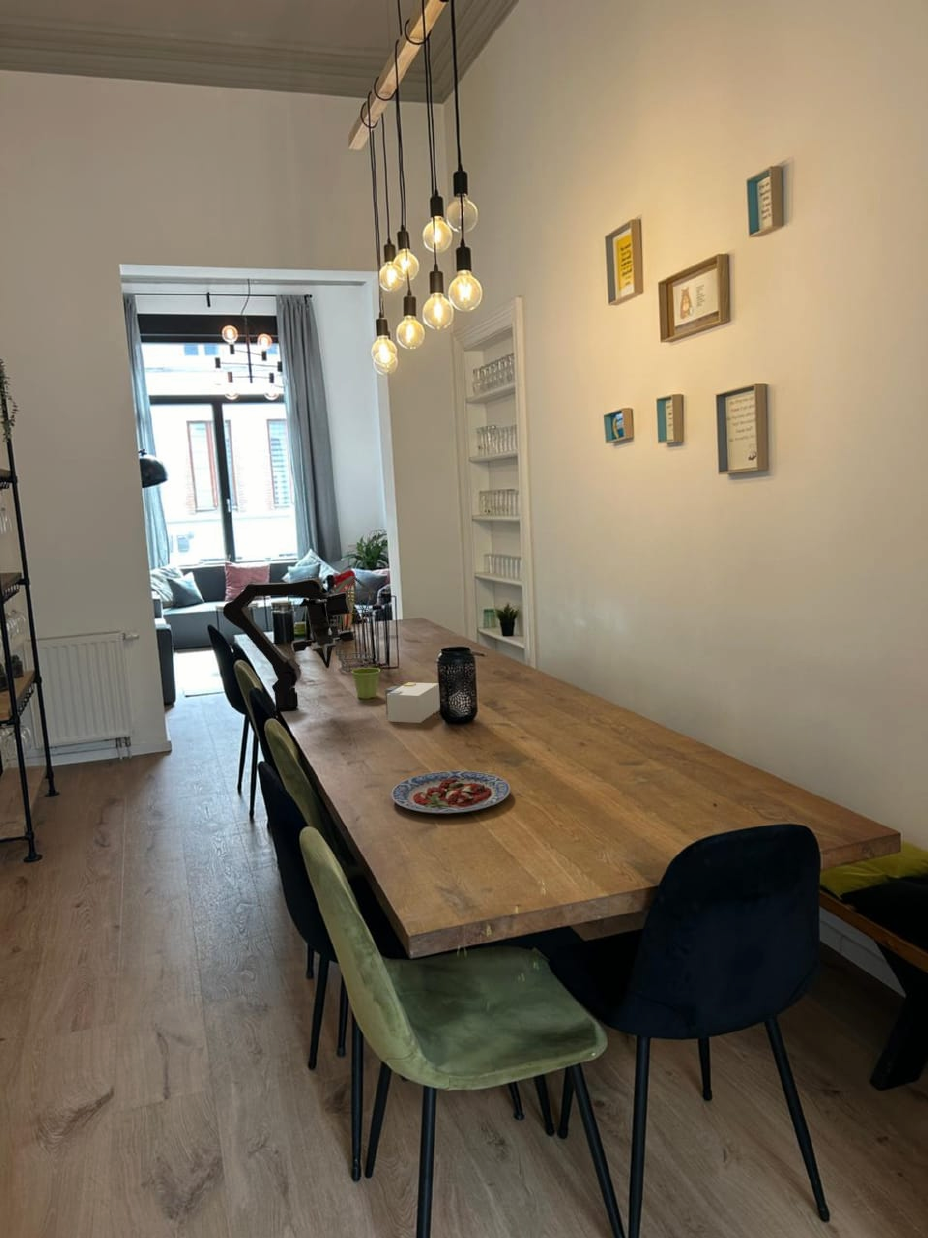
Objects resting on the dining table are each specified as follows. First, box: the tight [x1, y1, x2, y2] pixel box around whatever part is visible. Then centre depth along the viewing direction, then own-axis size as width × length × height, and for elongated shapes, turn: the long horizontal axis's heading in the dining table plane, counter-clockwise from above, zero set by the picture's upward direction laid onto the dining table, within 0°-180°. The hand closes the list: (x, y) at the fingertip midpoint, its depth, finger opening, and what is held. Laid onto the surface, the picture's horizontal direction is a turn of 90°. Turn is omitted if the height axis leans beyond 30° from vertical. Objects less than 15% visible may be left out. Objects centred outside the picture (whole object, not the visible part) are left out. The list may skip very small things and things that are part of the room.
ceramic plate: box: [390, 770, 511, 814], centre depth 193 cm, size 26×26×3 cm
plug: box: [384, 685, 401, 716], centre depth 265 cm, size 9×5×8 cm, turn 71°
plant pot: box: [351, 667, 381, 700], centre depth 290 cm, size 9×9×9 cm
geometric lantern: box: [328, 576, 377, 672], centre depth 335 cm, size 16×16×35 cm
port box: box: [387, 681, 441, 724], centre depth 264 cm, size 10×16×8 cm, turn 161°
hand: (327, 668), depth 277 cm, fingers closed
